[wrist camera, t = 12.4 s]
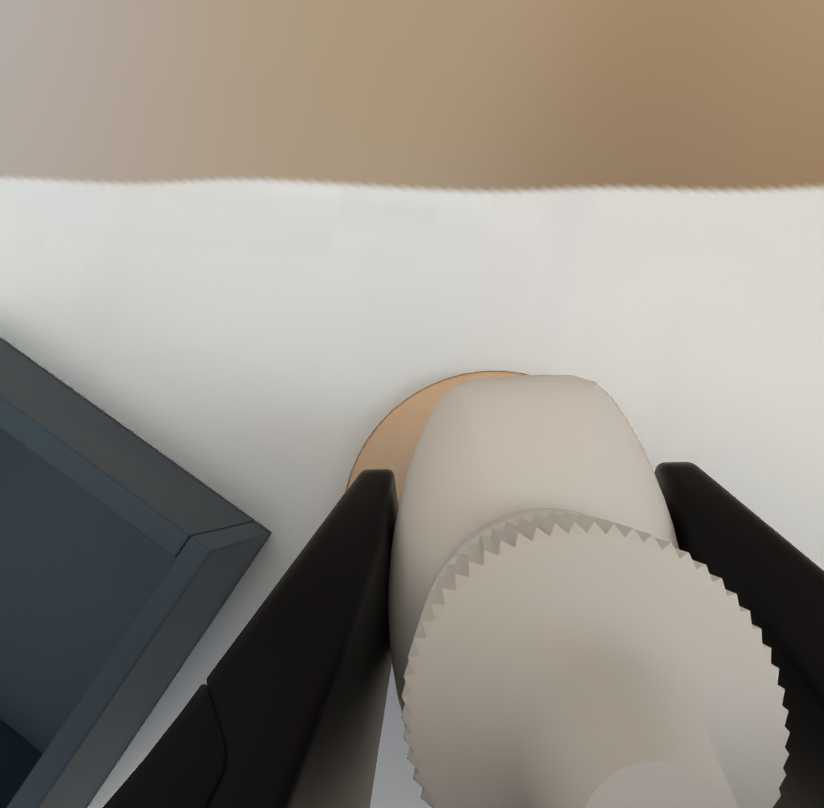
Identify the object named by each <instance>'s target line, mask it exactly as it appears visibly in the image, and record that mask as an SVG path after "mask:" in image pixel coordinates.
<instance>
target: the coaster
mask: <svg viewBox="0 0 824 808" xmlns="http://www.w3.org/2000/svg"><path fill="white" fill-rule="evenodd" d="M525 375H528V374H524V373H516V372H508V371H481V372H474V373H467V374H462V375H458V376H455V377H451V378H447V379H444V380H442V381H439V382H437V383H435V384H432V385H430V386H427V387H425V388H424V389H422V390H420V391H419V392H417V393H415V394H413V395H412V396H410V397H409V398H407V399H406V400H405V401H403V402H402V403H401V404H400V405H398V406H397V407H396V408H394V409H393V410H392V411H391V412H390V413H389V414H388V415H387V416H386V417H385V418H384V419H383V420H382V421H381V422H380V423H379V425H378V426H377V427H376V429H375V430H374V431H373V433H372V434H371V435H370V436H369V438H368V439H367V441H366V443H365V444H364V446H363V448H362V450H361V451H360V453H359V455H358V457H357V459H356V462H355V464H354V466H353V469H352V471H351V474H350V477H349V481H348V484H347V488H346V491H347V490H348V488H349V487H350V486H351V484H352V483H353V482H354V480H355V479H356V478H357V476H358V475H359V474H360V473H361V472H362V471H363V470H365V469H390V470H392V471H393V473H394V476H395V483H396V491H397V499H398V507H399V503H400V498H401V494H402V491H403V487H404V483H405V480H406V476H407V473H408V470H409V467H410V464H411V461H412V458H413V455H414V452H415V449H416V447H417V444H418V442H419V439H420V437H421V435H422V432H423V430H424V427H425V425H426V423H427V421H428V419H429V417H430V415H431V413H432V411H433V409H434V407H435V406H436V404H437V403H438V402H439V401H440V399H441V398H442V397H443V396H444V395H445V394H446V393H447V392H448V391H449V390H450V389H451V388H452V387H453V386H456V385H459V384H461V383H464V382H467V381H469V380H472V379H479V378H489V377H501V376H525Z"/></svg>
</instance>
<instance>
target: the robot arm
mask: <svg viewBox="0 0 824 808" xmlns="http://www.w3.org/2000/svg"><path fill="white" fill-rule="evenodd" d="M655 476H656V479H657V481H658V484H659V486H660V489H661V491H662V494H663V496H664V499H665V502H666V505H667V508H668V511H669V514H670V517H671V520H672V523H673V526H674V530H675V534H676V538H677V542H678V546H679V550H682V551H685V552H688V553H689V554H690V556H691V558H692V560H694V561H697V562H700V563H703V564H705V565H706V566H707V568H708V571H709V574H712V575H714V576H717V577H719V578H722V580H723V583H724V587H725V589H726V590H729V591H731V592H733V593H736V594H737V597H738V602H739V606H741V607H743V608H745V609H747V610H749V611H750V615H751V623H752V624H753V625H755V626H757V627H759V628H761V629H762V643H763V644H765V645H766V646H768V647H770V648H771V664H773V665H774V666H776V667H778V668H779V675H778V685H779V686H781V687H782V688H784V689H785V692H784V698H783V703H782V706H783V707H784V708H786V709H787V710H788V715H787V719H786V723H785V727H786V729H787V730H788V731H789V732H790V734H789V737H788V740H787V742H786V745H785V748H786V750H787V751H788V753H789V756H788V758H787V760H786V762H785V764H784V766H783V769H784V771H785V774H786V776H785V778H784V780H783V782H782V783H781V785H780V787H779V790H780V794H781V796H780V798H779V799H778V801H777V802H776V803H775V805H774V806H773V808H824V571H823V570H822V569H821V568H820V567H818V566H817V565H816V564H815V563H814V562H812V561H811V560H810V559H809V558H808V557H806V556H805V555H804V554H803V553H802V552H800V551H799V550H798V549H797V548H795V547H794V546H793V545H792V544H791V543H789V542H788V541H787V540H786V539H785V538H783V537H782V536H781V535H780V534H779V533H777V532H776V531H775V530H774V529H773V528H771V527H770V526H769V525H768V524H766V523H765V522H764V521H763V520H762V519H760V518H759V517H758V516H757V515H756V514H754V513H753V512H752V511H751V510H750V509H748V508H747V507H746V506H745V505H744V504H742V503H741V502H740V501H739V500H737V499H736V498H735V497H734V496H733V495H731V494H730V493H729V492H728V491H727V490H725V489H724V488H723V487H722V486H721V485H719V484H718V483H717V482H716V481H715V480H713V479H712V478H711V477H710V476H708V475H707V474H706V473H705V472H704V471H702V470H701V469H700V468H699V467H698V466H696V465H695V464H693V463H690V462H665V463H661V464H659V465H658V466H657V468H656V470H655ZM398 508H399V507H398V499H397V491H396V483H395V476H394V473H393V471H392V470H390V469H365V470H363V471H362V472H361V473H360V474H359V475H358V476H357V478H356V479H355V480H354V482H353V483H352V484H351V486H350V487H349V488H348V490H347V491H346V492H345V494H344V495H343V497H342V498H341V499H340V501H339V502H338V503H337V505H336V506H335V507H334V509H333V510H332V511H331V513H330V514H329V515H328V517H327V518H326V519H325V521H324V522H323V523H322V525H321V526H320V527H319V529H318V530H317V531H316V533H315V534H314V535H313V537H312V538H311V539H310V541H309V542H308V543H307V545H306V546H305V547H304V549H303V550H302V551H301V553H300V554H299V555H298V557H297V558H296V559H295V561H294V562H293V564H292V565H291V566H290V568H289V569H288V570H287V572H286V573H285V574H284V576H283V577H282V578H281V580H280V581H279V582H278V584H277V585H276V586H275V588H274V589H273V590H272V592H271V593H270V594H269V596H268V597H267V598H266V600H265V601H264V602H263V604H262V605H261V606H260V608H259V609H258V610H257V612H256V613H255V614H254V616H253V617H252V618H251V620H250V621H249V622H248V624H247V625H246V626H245V628H244V629H243V630H242V632H241V633H240V635H239V636H238V637H237V639H236V640H235V641H234V643H233V644H232V645H231V647H230V648H229V649H228V651H227V652H226V653H225V655H224V656H223V657H222V659H221V660H220V661H219V663H218V664H217V665H216V667H215V668H214V669H213V671H212V672H211V673H210V675H209V676H208V677H207V685H208V686H207V685H206V684H203V685H201V686H200V687H199V689H198V690H197V692H196V693H195V694H194V696H193V697H192V698H191V700H190V701H189V702H188V704H187V705H186V706H185V708H184V709H183V710H182V712H181V713H180V714H179V716H178V717H177V718H176V720H175V721H174V722H173V723H172V725H171V726H170V727H169V728H168V730H167V731H166V732H165V734H164V735H163V736H162V737H161V739H160V740H159V741H158V742H157V744H156V745H155V746H154V748H153V749H152V750H151V751H150V753H149V754H148V755H147V757H146V758H145V759H144V760H143V761H142V763H141V764H140V765H139V766H138V767H137V768H136V770H135V771H134V772H133V773H132V774H131V775H130V777H129V778H128V779H127V780H126V781H125V782H124V784H123V785H122V786H121V787H120V788H119V789H118V791H117V792H116V793H115V794H114V795H113V796H112V798H111V799H110V800H109V801H108V802H107V803H106V804H105V806H104V807H103V808H370V801H371V794H372V788H373V781H374V775H375V768H376V762H377V755H378V748H379V742H380V735H381V729H382V722H383V716H384V709H385V703H386V696H387V689H388V683H389V676H390V670H391V663H392V656H391V647H390V637H389V616H388V594H389V572H390V560H391V549H392V542H393V535H394V528H395V522H396V517H397V512H398Z"/></svg>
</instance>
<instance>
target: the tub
mask: <svg viewBox="0 0 824 808" xmlns="http://www.w3.org/2000/svg"><path fill="white" fill-rule="evenodd" d="M270 534H271V532H270V531H269V530H267V529H266V528H265V527H263V526H262V525H260V524H259V523H258V522H256V521H255V520H253V519H252V518H251V517H249V516H248V515H246V514H245V513H244V512H242V511H241V510H239V509H238V508H237V507H235V506H234V505H233V504H231V503H230V502H228V501H227V500H226V499H224V498H223V497H221V496H220V495H219V494H217V493H216V492H214V491H213V490H212V489H210V488H209V487H208V486H206V485H205V484H203V483H202V482H201V481H199V480H198V479H196V478H195V477H194V476H192V475H191V474H189V473H188V472H187V471H185V470H184V469H182V468H181V467H180V466H178V465H177V464H176V463H174V462H173V461H171V460H170V459H169V458H167V457H166V456H164V455H163V454H162V453H160V452H159V451H157V450H156V449H155V448H153V447H152V446H151V445H149V444H148V443H146V442H145V441H144V440H142V439H141V438H139V437H138V436H137V435H135V434H134V433H132V432H131V431H130V430H128V429H127V428H125V427H124V426H123V425H121V424H120V423H119V422H117V421H116V420H114V419H113V418H112V417H110V416H109V415H107V414H106V413H105V412H103V411H102V410H100V409H99V408H98V407H96V406H95V405H94V404H92V403H91V402H89V401H88V400H87V399H85V398H84V397H82V396H81V395H80V394H78V393H77V392H75V391H74V390H73V389H71V388H70V387H68V386H67V385H66V384H64V383H63V382H62V381H60V380H59V379H57V378H56V377H55V376H53V375H52V374H50V373H49V372H48V371H46V370H45V369H43V368H42V367H41V366H39V365H38V364H37V363H35V362H34V361H32V360H31V359H30V358H28V357H27V356H25V355H24V354H23V353H21V352H20V351H18V350H17V349H16V348H14V347H13V346H11V345H10V344H9V343H7V342H6V341H5V340H3V339H2V338H0V808H87V807H88V805H89V804H90V802H91V801H92V799H93V798H94V796H95V795H96V793H97V792H98V790H99V789H100V787H101V786H102V784H103V783H104V781H105V780H106V778H107V777H108V775H109V774H110V772H111V771H112V769H113V768H114V766H115V765H116V763H117V762H118V760H119V759H120V757H121V756H122V754H123V753H124V751H125V750H126V749H127V747H128V746H129V744H130V743H131V741H132V740H133V738H134V737H135V735H136V734H137V732H138V731H139V729H140V728H141V726H142V725H143V723H144V722H145V720H146V719H147V717H148V716H149V714H150V713H151V711H152V710H153V708H154V707H155V705H156V704H157V702H158V701H159V699H160V698H161V696H162V695H163V693H164V692H165V691H166V689H167V688H168V686H169V685H170V683H171V682H172V680H173V679H174V677H175V676H176V674H177V673H178V671H179V670H180V668H181V667H182V665H183V664H184V662H185V661H186V659H187V658H188V656H189V655H190V653H191V652H192V650H193V649H194V647H195V646H196V644H197V643H198V641H199V640H200V638H201V637H202V635H203V634H204V632H205V631H206V630H207V628H208V627H209V625H210V624H211V622H212V621H213V619H214V618H215V616H216V615H217V613H218V612H219V610H220V609H221V607H222V606H223V604H224V603H225V601H226V600H227V598H228V597H229V595H230V594H231V592H232V591H233V589H234V588H235V586H236V585H237V583H238V582H239V580H240V579H241V577H242V576H243V574H244V573H245V572H246V570H247V569H248V567H249V566H250V564H251V563H252V561H253V560H254V558H255V557H256V555H257V554H258V552H259V551H260V549H261V548H262V546H263V545H264V543H265V542H266V540H267V539H268V537H269V536H270Z"/></svg>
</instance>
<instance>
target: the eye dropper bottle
mask: <svg viewBox="0 0 824 808" xmlns="http://www.w3.org/2000/svg"><path fill="white" fill-rule="evenodd" d="M388 616H389V637H390V647H391V656H392V665H393V671H394V677H395V683H396V688H397V694H398V699H399V703H400V707H401V711H402V717H401V718H402V719H403V720H404V723H405V727H406V728H405V733H404V737H403V738H404V739H405V741H406V742H407V743H408V744H409V746H410V747H409V752H408V757H407V759H408V760H409V761H410V762H411V763H412V764H413V765H414V766H415V770H414V776H413V779H414V780H415V781H416V782H417V783H418V784H420V785H421V786H422V795H421V799H423V800H424V801H425V802H426V803H428V804H429V805H430V806H431V807H432V808H773V806H774V805H775V803H776V802H777V801H778V799H779V798H780V796H781V794H780V790H779V787H780V785H781V783H782V782H783V780H784V778H785V776H786V774H785V771H784V769H783V766H784V764H785V762H786V760H787V758H788V756H789V753H788V751H787V750H786V748H785V745H786V742H787V740H788V737H789V734H790V732H789V731H788V730H787V729H786V727H785V723H786V719H787V715H788V710H787V709H786V708H784V707H783V706H782V703H783V698H784V692H785V689H784V688H782V687H781V686H779V685H778V675H779V668H778V667H776V666H774V665H773V664H771V648H770V647H768V646H766V645H765V644H763V643H762V629H761V628H759V627H757V626H755V625H753V624H752V623H751V615H750V611H749V610H747V609H745V608H743V607H741V606H739V602H738V597H737V594H736V593H733V592H731V591H729V590H726V589H725V587H724V583H723V580H722V578H719V577H717V576H714V575H712V574H709V571H708V568H707V566H706V565H705V564H703V563H700V562H697V561H694V560H692V558H691V556H690V554H689V553H688V552H685V551H682V550H679V546H678V542H677V538H676V534H675V530H674V526H673V523H672V520H671V517H670V514H669V511H668V508H667V505H666V502H665V499H664V496H663V494H662V491H661V489H660V486H659V484H658V481H657V479H656V476H655V473H654V471H653V469H652V466H651V464H650V462H649V460H648V458H647V456H646V454H645V452H644V449H643V447H642V445H641V443H640V441H639V440H638V438H637V436H636V434H635V432H634V431H633V429H632V427H631V425H630V424H629V422H628V420H627V419H626V417H625V416H624V414H623V413H622V411H621V410H620V408H619V407H618V405H617V404H616V402H615V401H614V399H613V398H612V397H611V396H610V395H609V394H608V393H607V392H606V391H604V390H603V389H602V388H601V387H600V386H599V385H598V384H597V383H595V382H593V381H590V380H586V379H583V378H579V377H576V376H570V375H525V376H501V377H489V378H479V379H472V380H469V381H467V382H464V383H461V384H459V385H456V386H453V387H452V388H451V389H450V390H449V391H448V392H447V393H446V394H445V395H444V396H443V397H442V398H441V399H440V401H439V402H438V403H437V404H436V406H435V407H434V409H433V411H432V413H431V415H430V417H429V419H428V421H427V423H426V425H425V427H424V430H423V432H422V435H421V437H420V439H419V442H418V444H417V447H416V449H415V452H414V455H413V458H412V461H411V464H410V467H409V470H408V473H407V476H406V480H405V483H404V487H403V491H402V494H401V498H400V503H399V508H398V512H397V517H396V522H395V528H394V535H393V542H392V549H391V560H390V572H389V594H388Z"/></svg>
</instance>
